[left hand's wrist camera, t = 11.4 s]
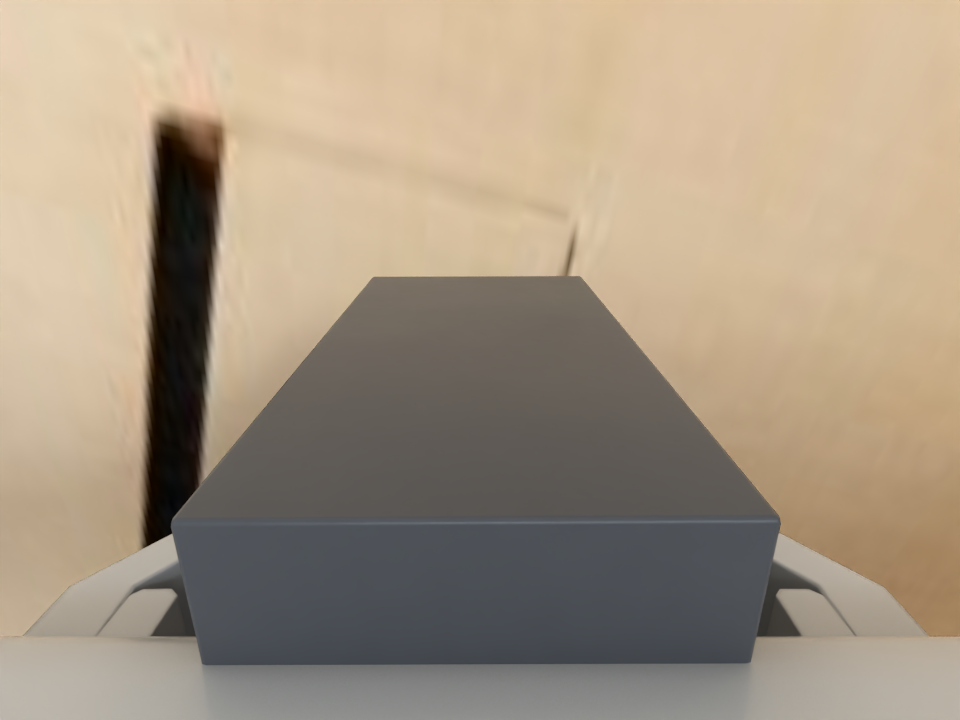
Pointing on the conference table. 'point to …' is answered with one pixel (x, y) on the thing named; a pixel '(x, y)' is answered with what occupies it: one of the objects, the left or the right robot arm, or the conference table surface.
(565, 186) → the conference table surface
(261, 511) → the bar
